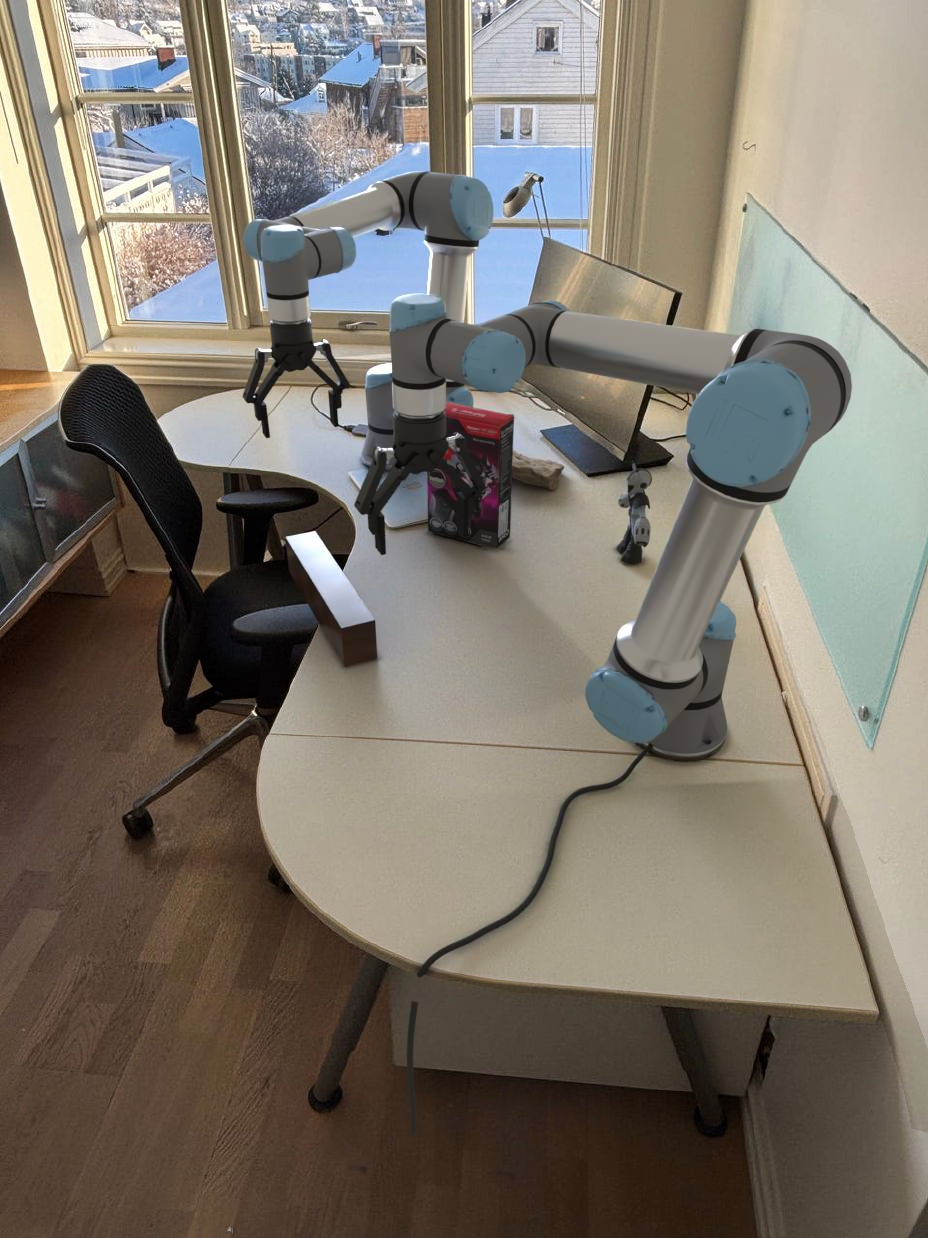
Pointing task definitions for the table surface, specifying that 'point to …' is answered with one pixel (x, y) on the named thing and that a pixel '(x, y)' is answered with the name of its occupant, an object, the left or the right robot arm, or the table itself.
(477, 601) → the table surface
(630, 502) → the robot
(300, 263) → the left robot arm
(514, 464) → the stone
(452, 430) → the graphics card box
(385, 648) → the table surface
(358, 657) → the beam
